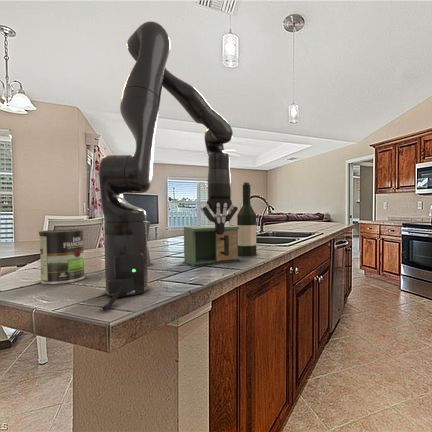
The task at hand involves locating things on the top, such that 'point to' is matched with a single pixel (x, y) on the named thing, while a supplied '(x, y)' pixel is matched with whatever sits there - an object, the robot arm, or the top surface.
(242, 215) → the wine bottle
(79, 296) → the top surface
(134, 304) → the top surface
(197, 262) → the cupboard
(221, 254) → the sliding door
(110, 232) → the robot arm
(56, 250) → the coffee can
